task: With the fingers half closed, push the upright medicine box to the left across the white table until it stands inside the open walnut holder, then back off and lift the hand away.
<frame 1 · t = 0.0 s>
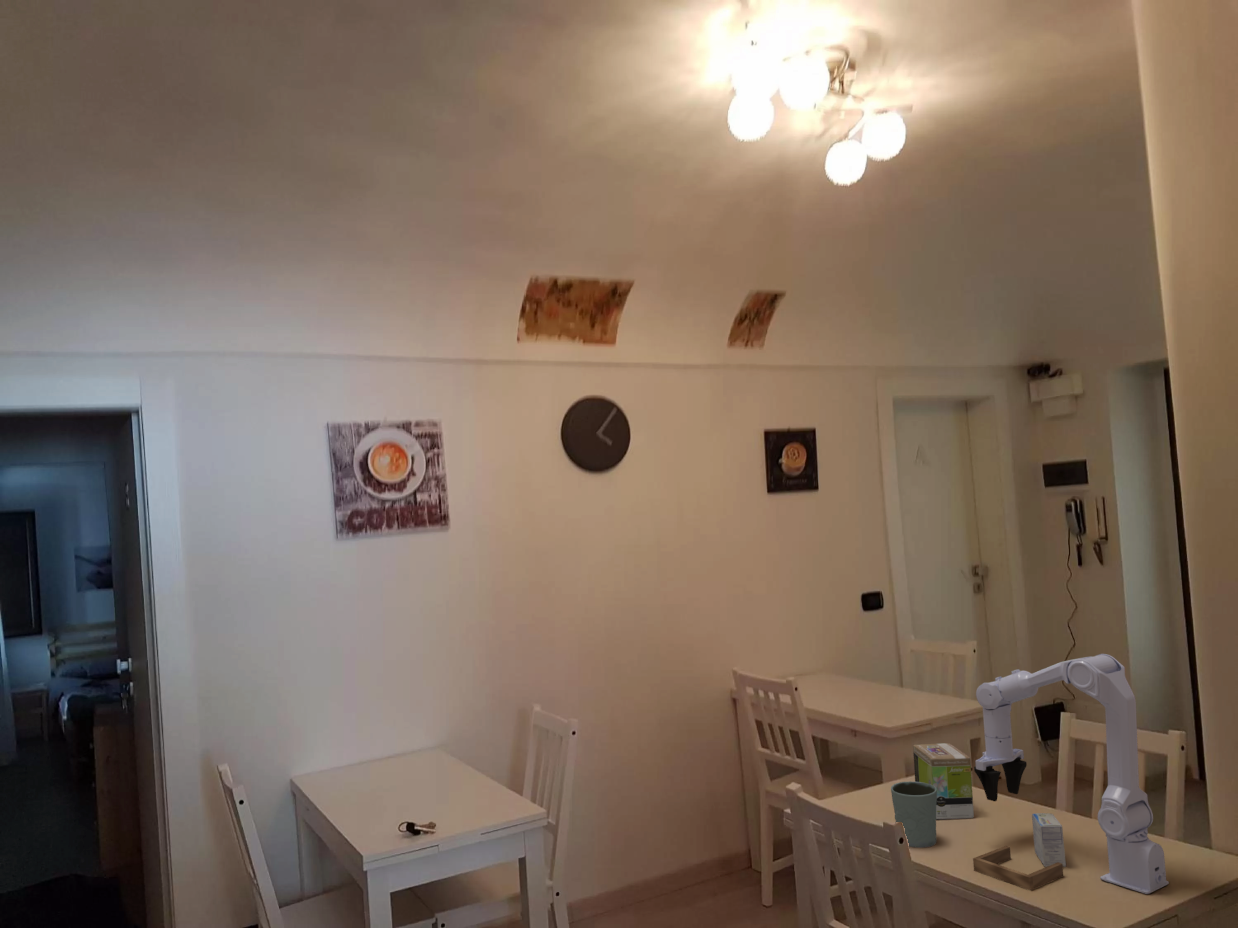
hand: (1002, 796, 207), 10 cm above the table, tool pointing down, fingers open, 7 cm apart
holder: (1019, 872, 190), on the table
teal cup: (917, 841, 210), on the table
medicine box: (1050, 861, 195), on the table
tea box: (944, 810, 230), on the table
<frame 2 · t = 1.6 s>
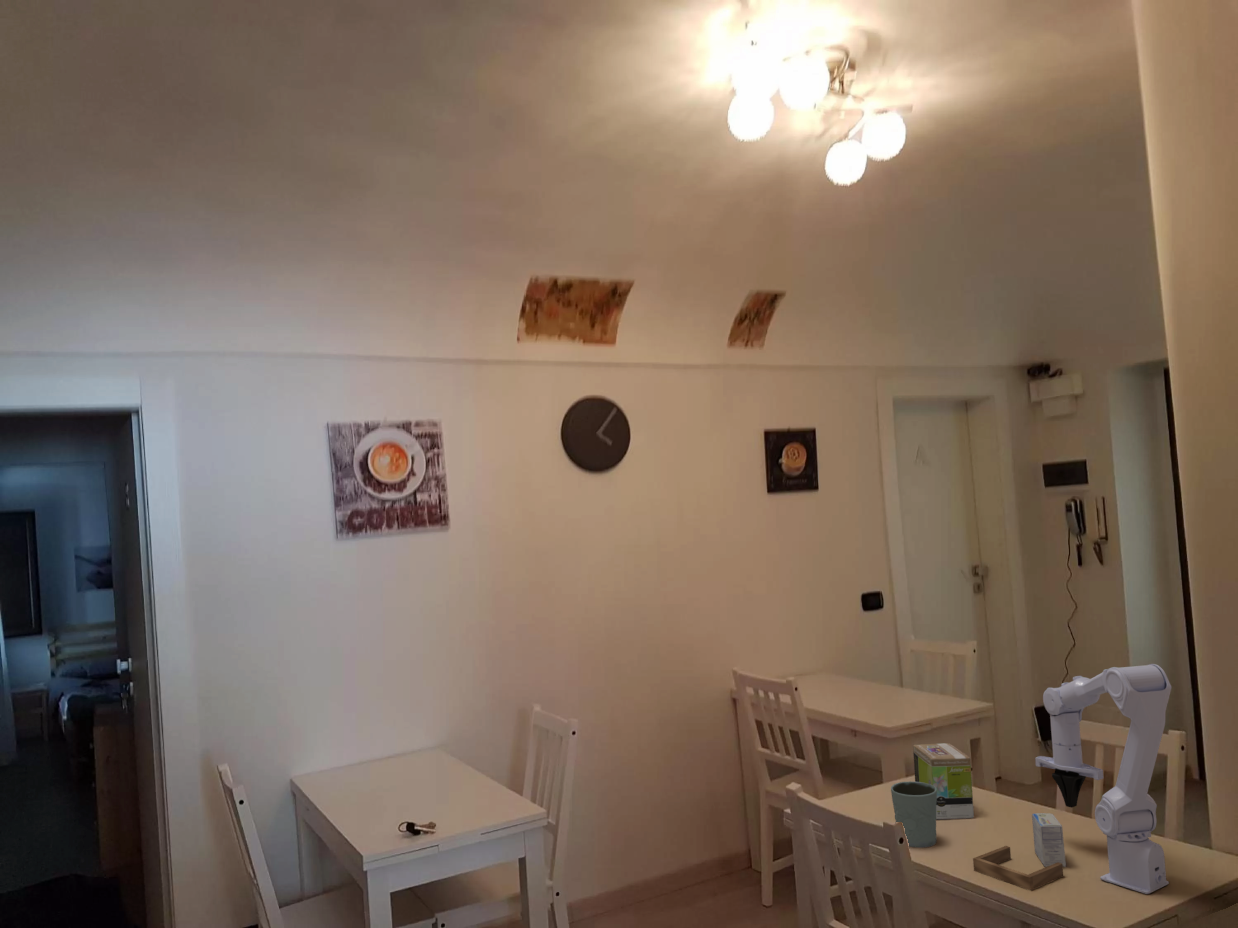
hand: (1071, 805, 201), 9 cm above the table, tool pointing down, fingers closed
nothing on the table moved.
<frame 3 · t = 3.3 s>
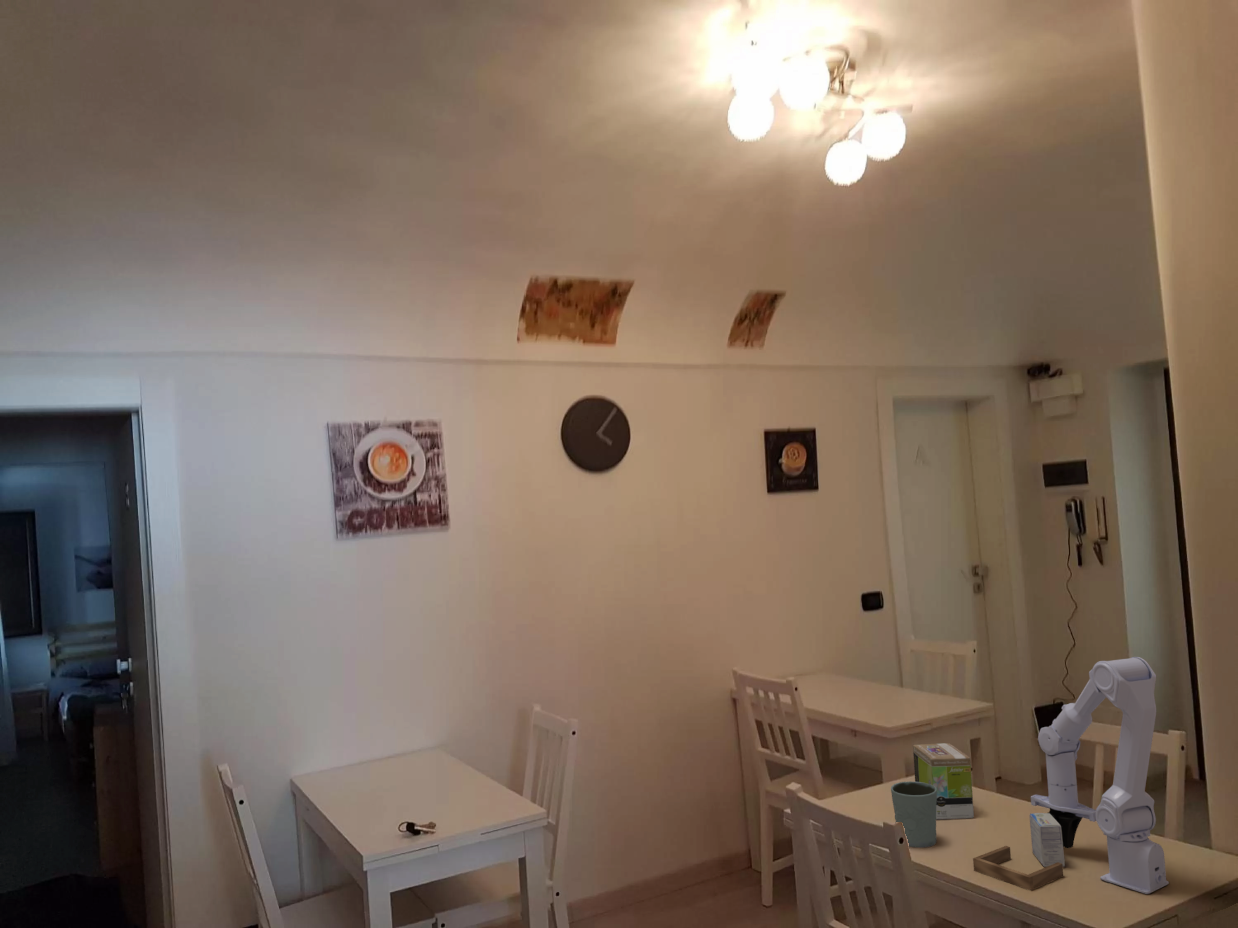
hand: (1066, 846, 199), 1 cm above the table, tool pointing down, fingers closed
medicine box: (1048, 861, 195), on the table, touching gripper
everything else where it was.
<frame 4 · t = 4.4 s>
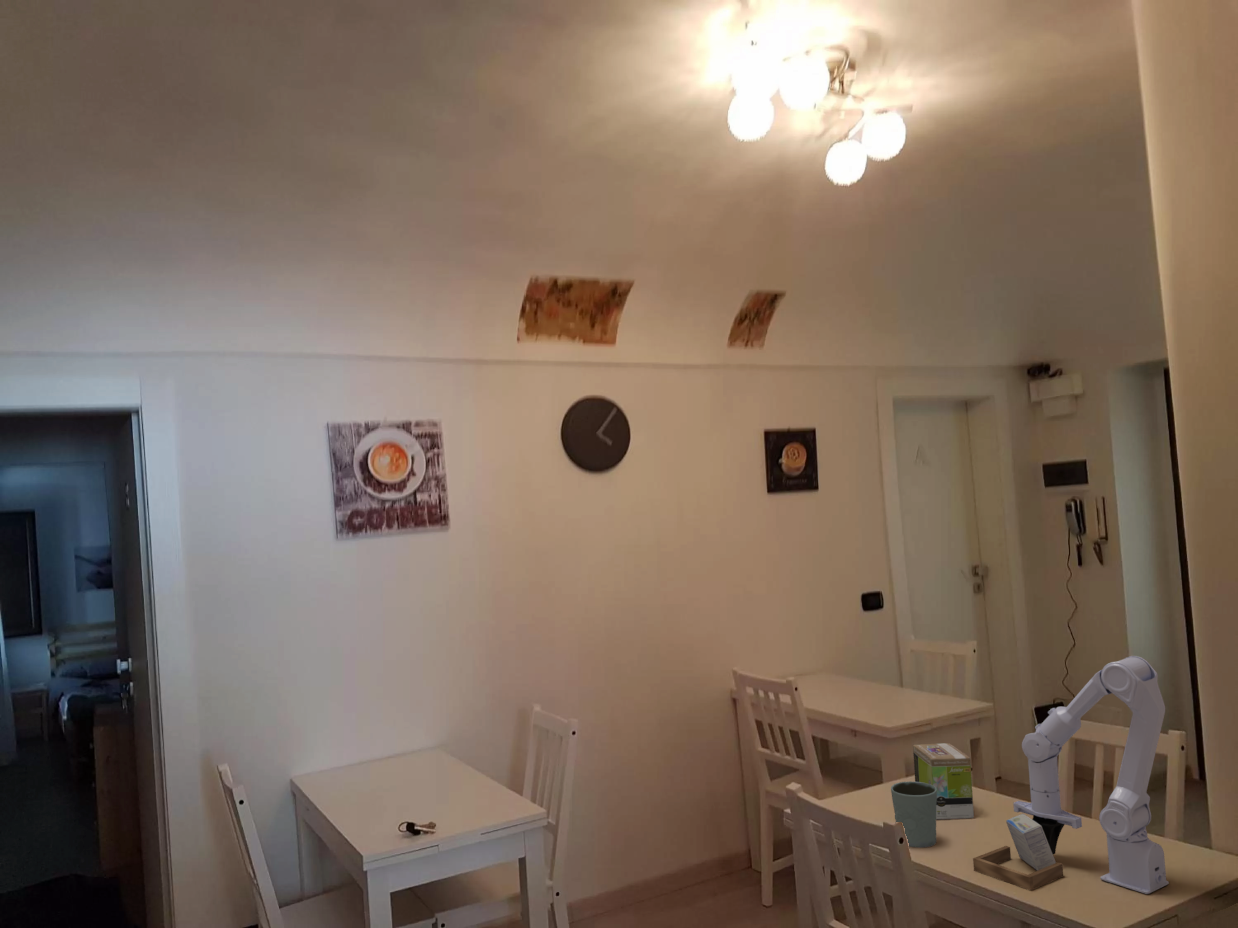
hand: (1049, 853, 196), 1 cm above the table, tool pointing down, fingers closed
medicine box: (1038, 862, 194), on the table
everything else where it was.
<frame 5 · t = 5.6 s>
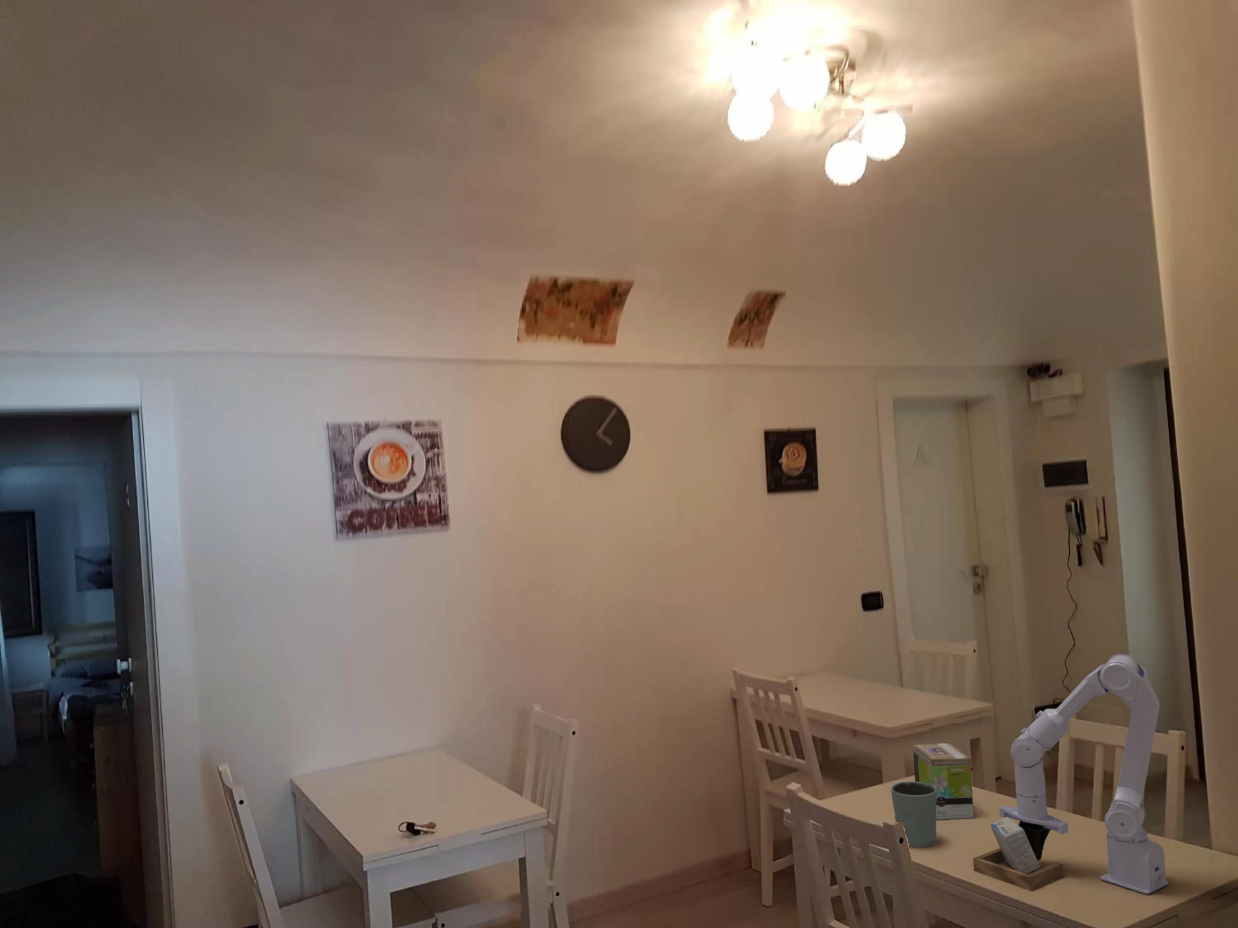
hand: (1035, 859, 193), 1 cm above the table, tool pointing down, fingers closed
medicine box: (1023, 866, 192), point 1 cm above the table, touching gripper, holder
everything else where it was.
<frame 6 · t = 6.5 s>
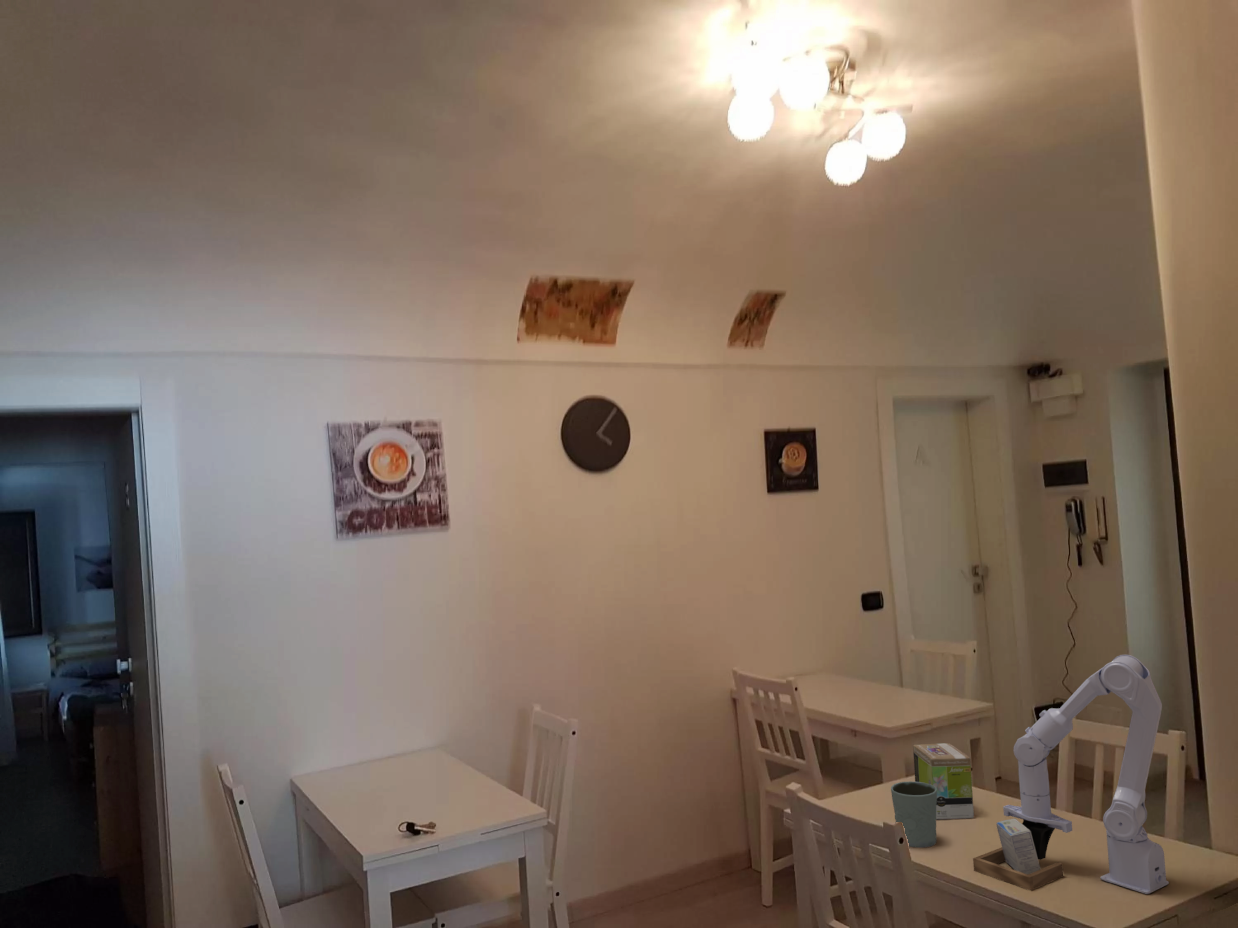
hand: (1039, 857, 194), 1 cm above the table, tool pointing down, fingers closed
medicine box: (1023, 868, 192), on the table, touching gripper
everything else where it was.
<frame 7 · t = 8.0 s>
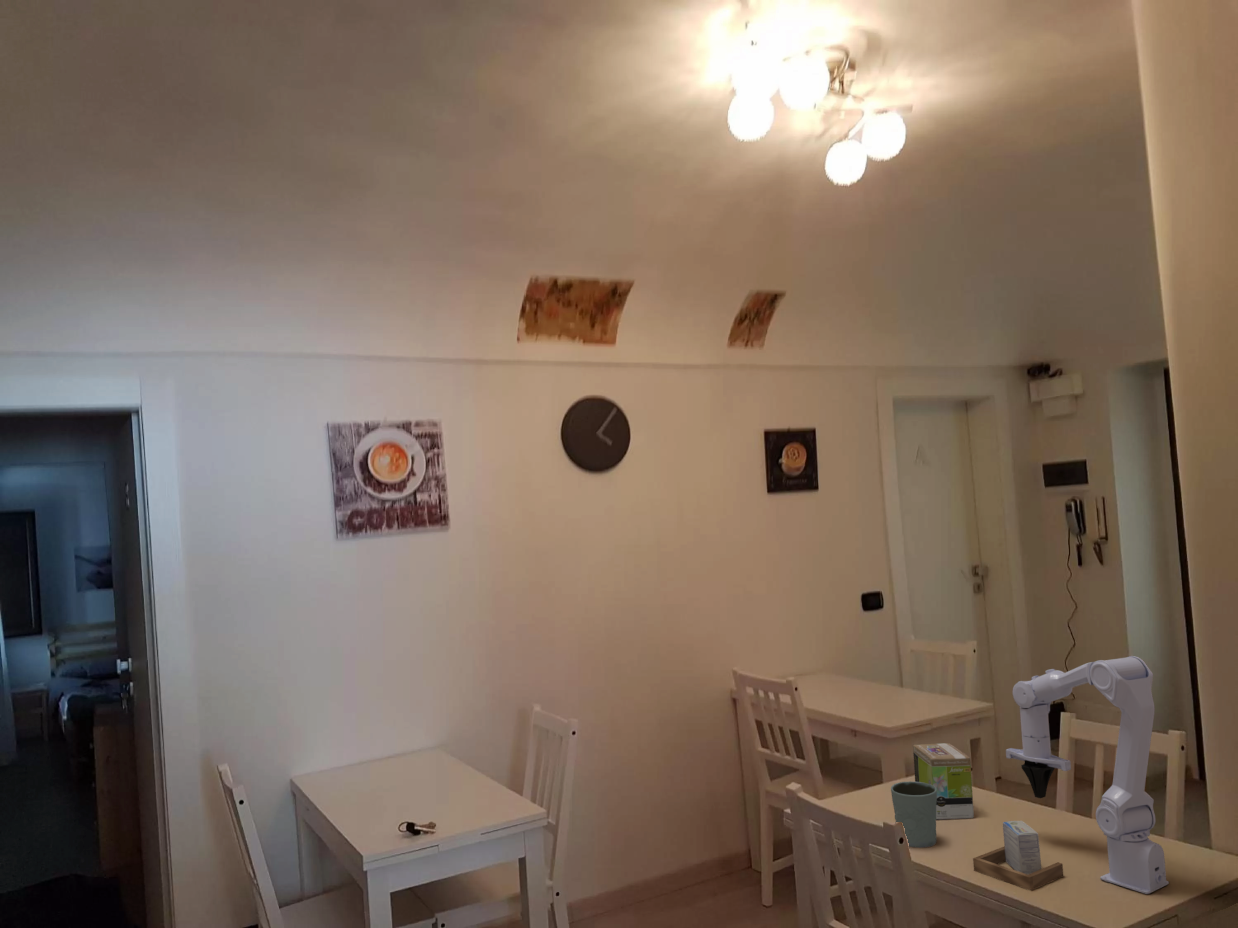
hand: (1040, 796, 205), 10 cm above the table, tool pointing down, fingers closed
medicine box: (1023, 869, 192), on the table
everything else where it was.
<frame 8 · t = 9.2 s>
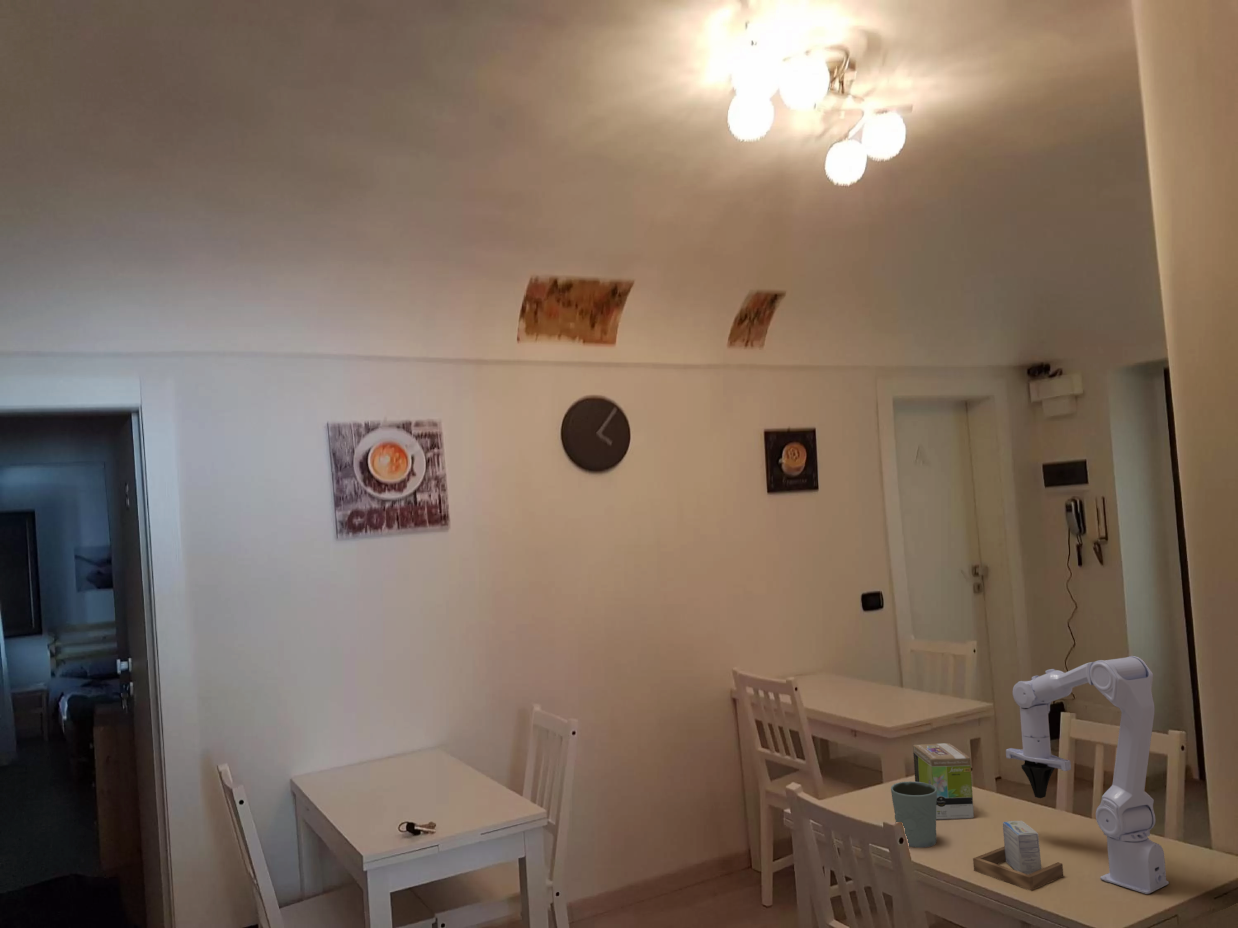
hand: (1040, 796, 205), 10 cm above the table, tool pointing down, fingers closed
nothing on the table moved.
at the end: medicine box inside the target area on the holder (1.9 cm from its centre), point 0.0 cm above the holder's base; medicine box tilted 0°; medicine box moved 8.2 cm from its start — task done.
